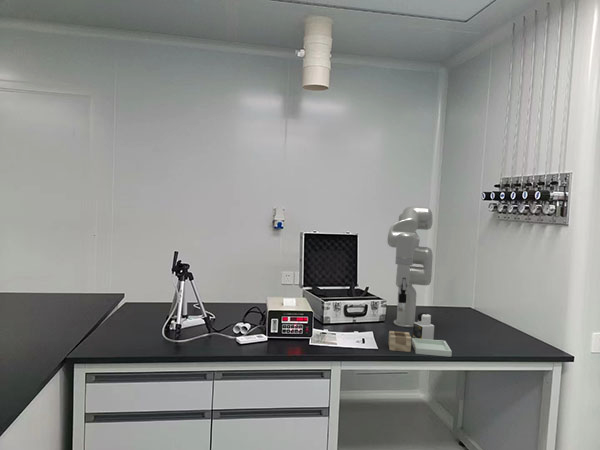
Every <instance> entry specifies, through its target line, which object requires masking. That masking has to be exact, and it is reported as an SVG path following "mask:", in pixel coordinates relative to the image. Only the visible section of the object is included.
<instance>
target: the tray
mask: <svg viewBox="0 0 600 450" xmlns="http://www.w3.org/2000/svg"><path fill="white" fill-rule="evenodd" d="M411 346H412V347H413V350H414V353H415V355H425V356H427V355H429V356H436V357H437V356H439V357H451V358H452V355H453V354H452V352H453V351H452V349H451V348H450V346H449V345H448V343H447V341H446V340H443V339H433V340H430V339H418V338H415V337H411Z"/></svg>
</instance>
